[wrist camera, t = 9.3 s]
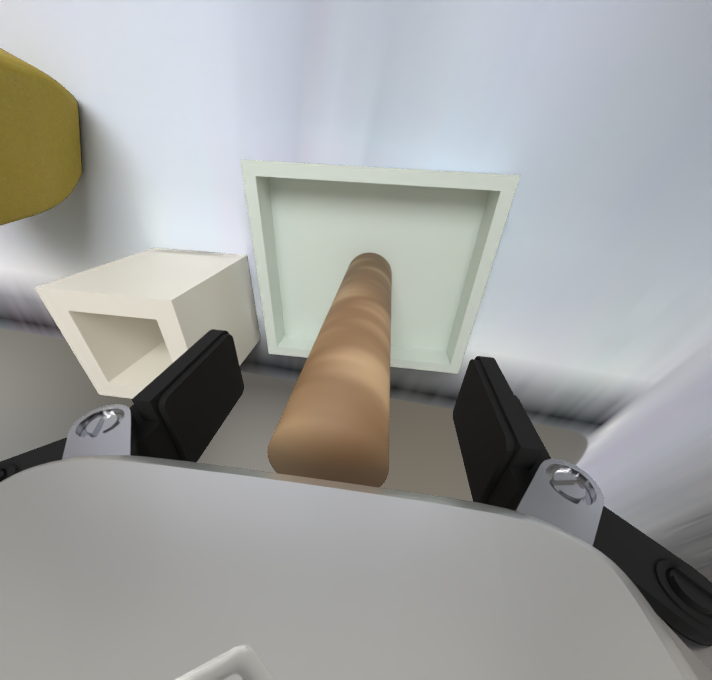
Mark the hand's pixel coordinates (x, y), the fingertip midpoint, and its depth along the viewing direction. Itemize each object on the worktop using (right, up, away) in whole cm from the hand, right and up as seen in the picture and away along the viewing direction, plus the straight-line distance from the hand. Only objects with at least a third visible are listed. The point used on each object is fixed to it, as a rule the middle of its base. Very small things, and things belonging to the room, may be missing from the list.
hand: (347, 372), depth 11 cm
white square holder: (-13, +5, +14) cm, 19 cm away
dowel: (+1, +6, +10) cm, 12 cm away
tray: (+1, +7, +11) cm, 13 cm away
